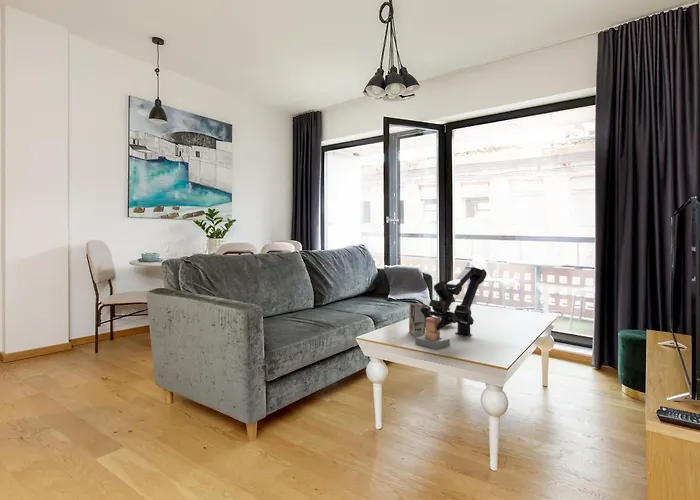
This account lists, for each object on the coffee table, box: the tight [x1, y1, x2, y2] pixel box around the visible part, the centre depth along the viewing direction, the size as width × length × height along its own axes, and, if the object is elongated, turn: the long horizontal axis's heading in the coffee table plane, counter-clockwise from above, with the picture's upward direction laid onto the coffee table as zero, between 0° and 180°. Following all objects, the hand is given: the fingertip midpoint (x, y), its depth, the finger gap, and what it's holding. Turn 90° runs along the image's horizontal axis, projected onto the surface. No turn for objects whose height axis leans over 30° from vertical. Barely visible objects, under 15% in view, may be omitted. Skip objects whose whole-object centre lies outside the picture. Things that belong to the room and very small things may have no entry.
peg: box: [425, 316, 441, 341], centre depth 196 cm, size 5×5×13 cm
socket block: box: [414, 335, 451, 350], centre depth 196 cm, size 12×12×3 cm
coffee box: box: [408, 302, 427, 337], centre depth 215 cm, size 9×6×16 cm
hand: (431, 328), depth 195 cm, fingers open, 7 cm apart
